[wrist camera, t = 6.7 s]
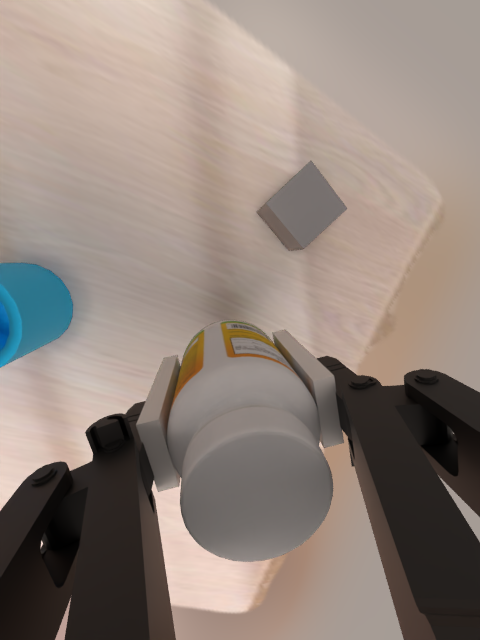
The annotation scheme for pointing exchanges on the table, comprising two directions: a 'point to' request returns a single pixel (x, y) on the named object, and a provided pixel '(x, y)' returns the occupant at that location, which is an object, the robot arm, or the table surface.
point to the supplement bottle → (246, 446)
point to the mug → (30, 309)
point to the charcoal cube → (302, 208)
